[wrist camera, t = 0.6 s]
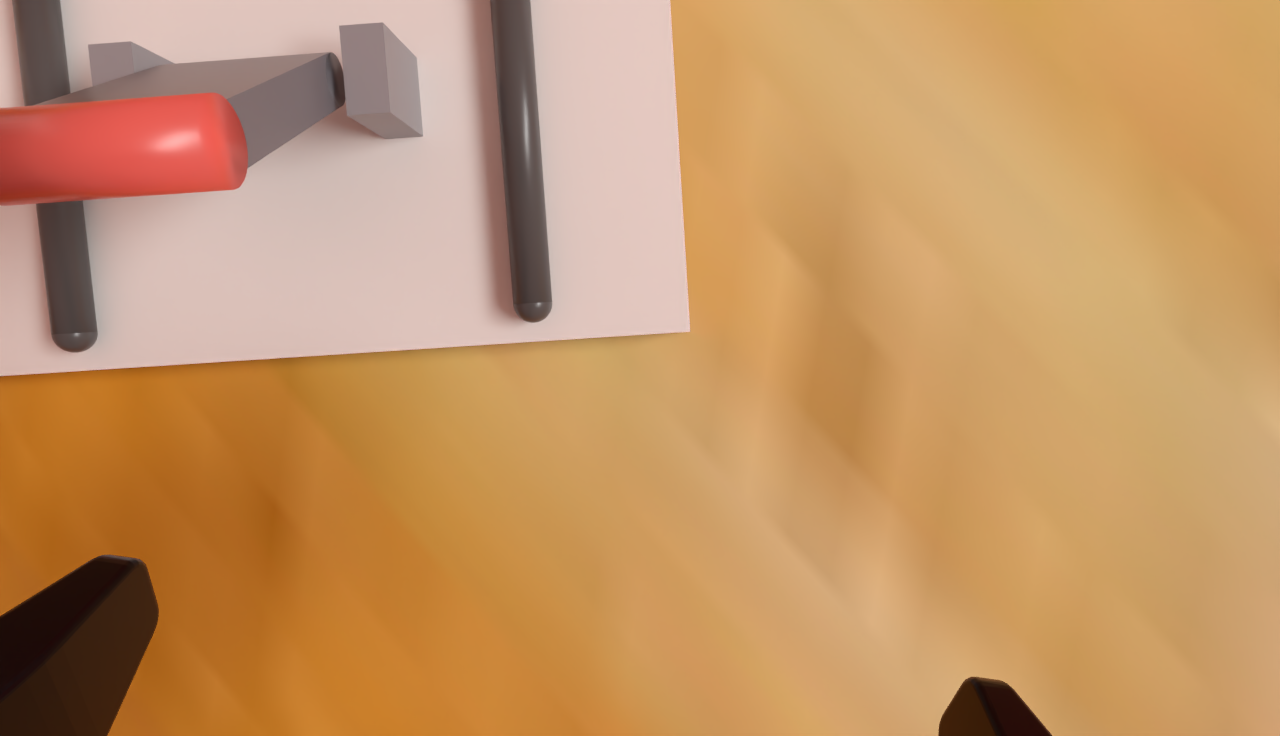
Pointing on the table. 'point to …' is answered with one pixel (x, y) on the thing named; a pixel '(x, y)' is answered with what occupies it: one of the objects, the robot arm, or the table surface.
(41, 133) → the lever
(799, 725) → the table surface
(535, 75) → the plate
